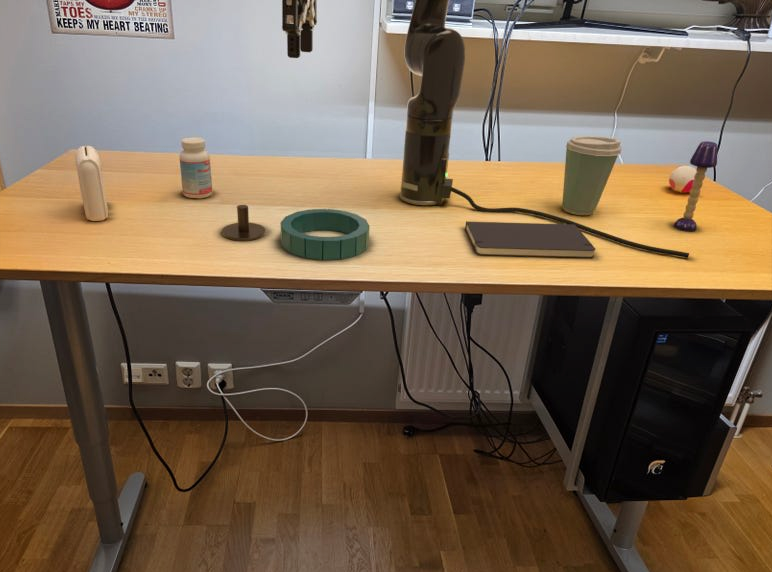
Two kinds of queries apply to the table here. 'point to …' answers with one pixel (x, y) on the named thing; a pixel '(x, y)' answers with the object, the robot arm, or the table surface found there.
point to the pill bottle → (195, 168)
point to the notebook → (528, 239)
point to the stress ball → (682, 179)
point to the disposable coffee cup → (587, 172)
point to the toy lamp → (697, 182)
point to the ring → (324, 246)
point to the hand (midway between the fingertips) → (300, 54)
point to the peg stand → (243, 227)
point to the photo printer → (91, 183)
